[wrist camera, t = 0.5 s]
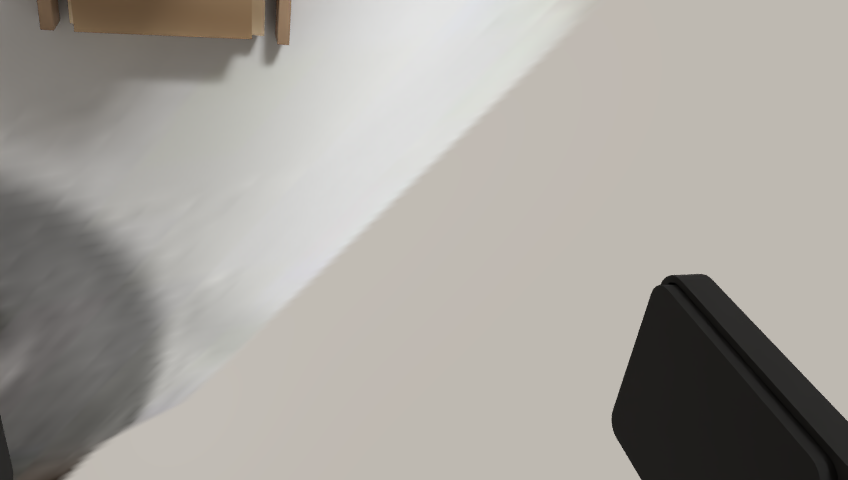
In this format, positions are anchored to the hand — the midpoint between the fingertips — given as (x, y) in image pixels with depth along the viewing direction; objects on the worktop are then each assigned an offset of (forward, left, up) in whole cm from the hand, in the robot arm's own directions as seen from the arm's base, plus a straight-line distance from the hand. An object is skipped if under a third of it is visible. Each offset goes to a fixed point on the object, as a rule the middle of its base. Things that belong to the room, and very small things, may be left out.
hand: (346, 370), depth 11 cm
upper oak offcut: (+1, -4, -25) cm, 26 cm away
